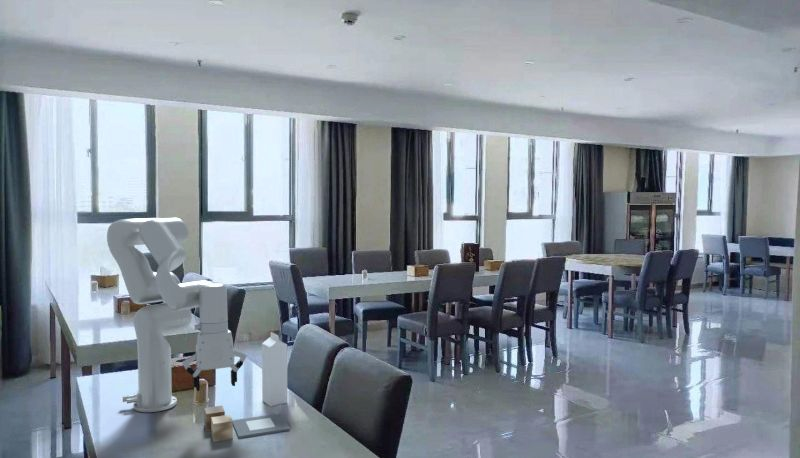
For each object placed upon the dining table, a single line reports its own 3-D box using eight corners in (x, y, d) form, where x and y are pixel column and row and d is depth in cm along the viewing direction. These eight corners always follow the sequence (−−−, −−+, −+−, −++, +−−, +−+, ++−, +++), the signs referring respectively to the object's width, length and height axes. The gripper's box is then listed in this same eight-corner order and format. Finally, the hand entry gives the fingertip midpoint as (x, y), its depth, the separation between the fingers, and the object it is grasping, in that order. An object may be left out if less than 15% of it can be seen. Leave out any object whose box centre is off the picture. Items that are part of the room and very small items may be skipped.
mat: (238, 438, 159) (238, 436, 159) (232, 422, 170) (232, 420, 170) (289, 430, 165) (289, 428, 165) (280, 415, 176) (280, 413, 176)
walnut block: (206, 431, 164) (206, 414, 163) (204, 424, 168) (204, 407, 168) (224, 428, 166) (224, 411, 165) (222, 422, 170) (222, 405, 170)
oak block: (213, 442, 157) (213, 423, 157) (211, 434, 161) (211, 417, 161) (232, 439, 159) (232, 421, 159) (230, 432, 164) (229, 414, 163)
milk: (270, 406, 183) (269, 337, 181) (262, 401, 188) (261, 333, 186) (287, 402, 187) (287, 334, 185) (279, 397, 191) (279, 330, 190)
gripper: (182, 333, 158) (184, 395, 159) (247, 327, 165) (249, 386, 166) (180, 327, 165) (182, 387, 166) (243, 322, 172) (244, 379, 173)
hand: (215, 387), depth 166 cm, fingers open, 9 cm apart
